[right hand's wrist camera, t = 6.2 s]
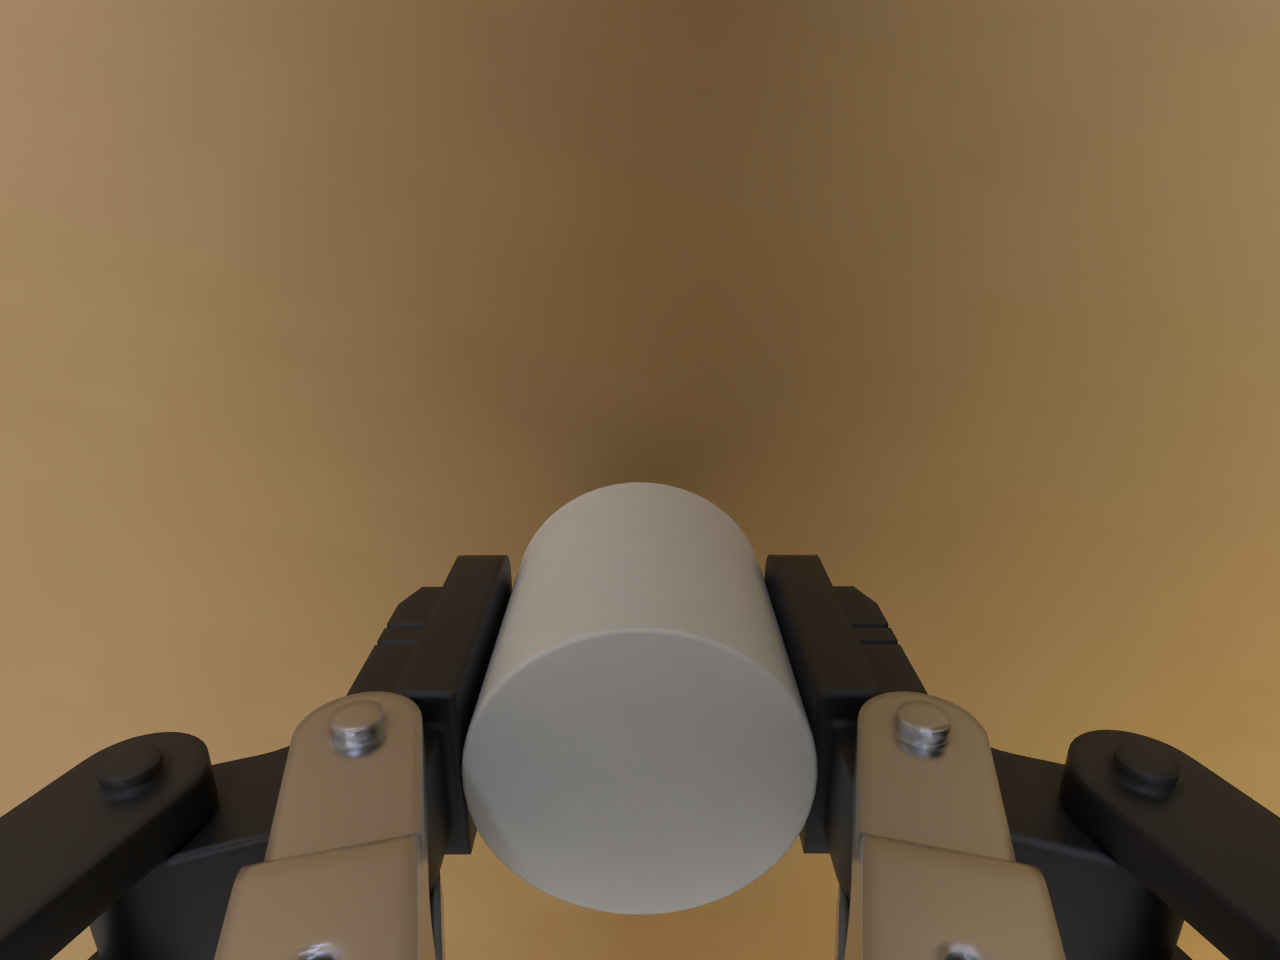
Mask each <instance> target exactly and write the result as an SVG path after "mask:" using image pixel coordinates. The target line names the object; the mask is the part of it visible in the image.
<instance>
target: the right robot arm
mask: <svg viewBox="0 0 1280 960" xmlns="http://www.w3.org/2000/svg"><path fill="white" fill-rule="evenodd" d="M765 584H766V587H767V590H768V593H769V597H770V600H771V603H772V606H773V609H774V613H775V616H776V619H777V622H778V625H779V629H780V632H781V635H782V638H783V641H784V645H785V648H786V651H787V654H788V657H789V661H790V664H791V667H792V670H793V673H794V677H795V680H796V683H797V686H798V689H799V693H800V696H801V699H802V702H803V705H804V709H805V712H806V715H807V718H808V721H809V725H810V728H811V731H812V734H813V738H814V743H815V747H816V752H817V765H818V777H817V785H816V793H815V796H814V800H813V804H812V807H811V811H810V813H809V816H808V818H807V820H806V822H805V824H804V827H803V829H802V831H801V832H800V834H799V835H800V839H801V844H802V848H803V852H804V853H830V855H831V859H832V862H833V866H834V869H835V873H836V877H837V879H838V882H839V886H838V895H837V908H836V935H835V960H1192V959H1191V958H1190V957H1189V956H1188V955H1187V954H1186V953H1184V952H1183V951H1182V950H1181V949H1180V948H1179V947H1178V946H1177V945H1176V944H1177V941H1178V938H1179V935H1180V932H1181V929H1182V926H1183V923H1184V920H1185V921H1186V922H1187V923H1189V924H1190V925H1191V926H1192V927H1193V928H1194V929H1195V930H1197V931H1198V932H1199V933H1200V934H1201V935H1202V936H1203V937H1204V938H1206V939H1207V940H1208V941H1209V942H1210V943H1211V944H1212V945H1214V946H1215V947H1216V948H1217V949H1218V950H1219V951H1220V952H1222V953H1223V954H1224V955H1225V956H1226V957H1227V958H1228V959H1229V960H1280V818H1279V817H1278V816H1277V815H1275V814H1274V813H1272V812H1271V811H1269V810H1268V809H1266V808H1265V807H1263V806H1262V805H1260V804H1259V803H1257V802H1256V801H1255V800H1253V799H1252V798H1250V797H1249V796H1247V795H1246V794H1244V793H1243V792H1241V791H1240V790H1238V789H1237V788H1235V787H1234V786H1233V785H1231V784H1230V783H1228V782H1227V781H1225V780H1224V779H1222V778H1221V777H1219V776H1218V775H1216V774H1215V773H1213V772H1212V771H1211V770H1209V769H1208V768H1206V767H1205V766H1203V765H1202V764H1200V763H1199V762H1197V761H1196V760H1194V759H1193V758H1191V757H1190V756H1188V755H1186V754H1185V753H1183V752H1182V751H1180V750H1178V749H1176V748H1174V747H1172V746H1170V745H1168V744H1165V743H1163V742H1160V741H1158V740H1155V739H1152V738H1149V737H1146V736H1143V735H1139V734H1135V733H1131V732H1125V731H1117V730H1097V731H1091V732H1087V733H1084V734H1082V735H1080V736H1078V737H1077V738H1075V739H1074V740H1073V742H1072V743H1071V744H1070V747H1069V750H1068V755H1067V759H1066V763H1065V765H1063V764H1058V763H1054V762H1049V761H1044V760H1040V759H1035V758H1030V757H1025V756H1021V755H1016V754H1012V753H1008V752H1004V751H1000V750H997V749H994V748H991V747H990V743H989V739H988V736H987V733H986V731H985V730H984V728H983V727H982V725H981V724H980V723H979V722H978V721H977V719H976V718H974V717H973V716H972V715H971V714H970V713H968V712H967V711H965V710H964V709H962V708H961V707H959V706H957V705H955V704H953V703H951V702H949V701H947V700H944V699H942V698H939V697H935V696H932V695H928V694H927V692H926V690H925V688H924V687H923V685H922V683H921V681H920V680H919V678H918V676H917V674H916V672H915V671H914V669H913V667H912V665H911V664H910V662H909V660H908V658H907V656H906V655H905V653H904V651H903V649H902V647H901V646H900V645H898V640H897V639H896V637H895V635H894V633H893V631H892V630H891V628H888V623H887V621H886V619H885V617H884V615H883V614H882V612H881V610H880V608H879V607H878V605H877V603H875V602H874V601H872V600H871V599H870V598H868V597H867V596H866V595H864V594H863V593H862V592H860V591H859V590H857V589H856V588H855V587H853V586H832V584H831V582H830V580H829V577H828V575H827V573H826V571H825V569H824V567H823V565H822V563H821V561H820V559H819V557H818V556H817V555H769V556H768V557H767V561H766V567H765ZM511 592H512V581H511V568H510V561H509V558H508V556H507V555H459V556H458V557H457V559H456V561H455V563H454V565H453V567H452V569H451V571H450V573H449V575H448V577H447V579H446V581H445V583H444V585H443V587H422V588H420V589H419V590H418V591H416V592H415V593H413V594H412V595H411V596H409V597H408V598H407V599H405V600H404V601H402V602H401V603H400V604H398V606H397V608H396V610H395V611H394V613H393V615H392V617H391V618H390V620H389V622H388V624H387V628H385V629H384V631H383V632H382V634H381V636H380V638H379V639H378V644H377V645H375V646H374V648H373V650H372V652H371V653H370V655H369V657H368V659H367V660H366V662H365V664H364V666H363V667H362V669H361V671H360V673H359V674H358V676H357V678H356V680H355V681H354V683H353V685H352V687H351V688H350V690H349V692H348V694H347V695H346V696H344V697H341V698H338V699H336V700H333V701H331V702H329V703H327V704H325V705H323V706H321V707H319V708H318V709H316V710H315V711H313V712H312V713H310V714H309V715H308V716H307V717H306V718H304V719H303V721H302V722H301V723H300V724H299V725H298V727H297V728H296V730H295V731H294V733H293V736H292V739H291V743H290V746H288V747H285V748H283V749H280V750H277V751H274V752H270V753H266V754H262V755H258V756H253V757H248V758H243V759H239V760H234V761H229V762H225V763H220V764H215V765H211V761H210V757H209V752H208V749H207V746H206V745H205V744H204V742H203V741H202V740H200V739H199V738H197V737H195V736H192V735H190V734H185V733H180V732H162V733H153V734H147V735H142V736H138V737H134V738H131V739H128V740H125V741H122V742H119V743H117V744H114V745H112V746H110V747H107V748H105V749H103V750H101V751H99V752H97V753H96V754H94V755H92V756H91V757H89V758H87V759H86V760H84V761H83V762H81V763H80V764H78V765H77V766H75V767H74V768H72V769H71V770H69V771H68V772H67V773H65V774H64V775H62V776H61V777H59V778H58V779H56V780H55V781H53V782H52V783H50V784H49V785H47V786H46V787H45V788H43V789H42V790H40V791H39V792H37V793H36V794H34V795H33V796H31V797H30V798H28V799H27V800H25V801H24V802H22V803H21V804H20V805H18V806H17V807H15V808H14V809H12V810H11V811H9V812H8V813H6V814H5V815H3V816H2V817H0V960H51V959H52V958H53V957H54V956H55V955H56V954H57V953H58V952H60V951H61V950H62V949H63V948H64V947H65V946H66V945H68V944H69V943H70V942H71V941H72V940H73V939H74V938H75V937H77V936H78V935H79V934H80V933H81V932H82V931H83V930H85V929H86V928H87V927H88V926H90V929H91V932H92V935H93V938H94V941H95V944H96V947H97V950H98V951H97V952H96V953H94V954H93V955H92V956H91V957H90V958H89V959H88V960H445V935H444V908H443V895H442V886H441V877H440V868H441V864H442V861H443V858H444V854H471V852H472V848H473V844H474V840H475V836H476V832H477V828H476V826H475V824H474V821H473V819H472V817H471V814H470V812H469V810H468V806H467V802H466V798H465V794H464V790H463V782H462V770H461V769H462V756H463V748H464V744H465V740H466V736H467V732H468V729H469V726H470V723H471V719H472V716H473V713H474V710H475V707H476V704H477V700H478V697H479V694H480V691H481V688H482V685H483V681H484V678H485V675H486V672H487V669H488V665H489V662H490V659H491V656H492V653H493V650H494V646H495V643H496V640H497V637H498V634H499V630H500V627H501V624H502V621H503V618H504V615H505V611H506V608H507V605H508V602H509V599H510V595H511Z"/></svg>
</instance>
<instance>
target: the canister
mask: <svg viewBox="0 0 1280 960" xmlns="http://www.w3.org/2000/svg"><path fill="white" fill-rule="evenodd" d="M461 770H462V782H463V790H464V794H465V798H466V802H467V806H468V810H469V812H470V814H471V817H472V819H473V821H474V824H475V826H476V828H477V830H478V831H479V833H480V834H481V836H482V838H483V839H484V841H485V843H486V844H487V845H488V846H489V848H490V849H491V850H492V851H493V853H494V854H495V855H496V856H497V857H498V858H499V859H500V860H501V861H502V862H503V863H504V864H505V865H506V866H507V867H508V868H509V869H510V870H511V871H512V872H514V873H515V874H516V875H518V876H519V877H521V878H522V879H523V880H525V881H526V882H527V883H529V884H531V885H532V886H534V887H536V888H538V889H539V890H541V891H543V892H545V893H547V894H549V895H551V896H553V897H556V898H558V899H560V900H563V901H565V902H568V903H571V904H574V905H577V906H581V907H584V908H588V909H593V910H598V911H602V912H609V913H618V914H630V915H650V914H662V913H671V912H677V911H682V910H687V909H692V908H695V907H699V906H702V905H705V904H709V903H712V902H714V901H717V900H719V899H722V898H724V897H726V896H729V895H731V894H733V893H735V892H736V891H738V890H740V889H742V888H744V887H746V886H747V885H749V884H750V883H752V882H753V881H755V880H756V879H758V878H759V877H760V876H762V875H763V874H765V873H766V872H767V871H768V870H769V869H770V868H771V867H772V866H774V865H775V864H776V863H777V862H778V861H779V860H780V859H781V858H782V857H783V855H784V854H785V853H786V852H787V851H788V850H789V848H790V847H791V846H792V845H793V843H794V842H795V840H796V838H797V837H798V835H799V834H800V832H801V831H802V829H803V827H804V824H805V822H806V820H807V818H808V816H809V813H810V811H811V807H812V804H813V800H814V796H815V793H816V785H817V777H818V765H817V752H816V747H815V743H814V738H813V734H812V731H811V728H810V725H809V721H808V718H807V715H806V712H805V709H804V705H803V702H802V699H801V696H800V693H799V689H798V686H797V683H796V680H795V677H794V673H793V670H792V667H791V664H790V661H789V657H788V654H787V651H786V648H785V645H784V641H783V638H782V635H781V632H780V629H779V625H778V622H777V619H776V616H775V613H774V609H773V606H772V603H771V600H770V597H769V593H768V590H767V587H766V584H765V581H764V577H763V574H762V571H761V568H760V565H759V562H758V559H757V557H756V554H755V551H754V549H753V547H752V545H751V544H750V542H749V540H748V538H747V537H746V535H745V534H744V533H743V531H742V530H741V529H740V527H739V526H738V525H737V524H736V523H735V522H734V521H733V520H732V519H731V518H730V517H729V516H728V515H727V514H726V513H725V512H724V511H722V510H721V509H720V508H718V507H717V506H716V505H714V504H713V503H711V502H710V501H708V500H706V499H704V498H702V497H701V496H699V495H696V494H694V493H691V492H689V491H687V490H684V489H681V488H677V487H673V486H669V485H664V484H657V483H645V482H632V483H623V484H615V485H611V486H607V487H602V488H599V489H596V490H593V491H591V492H588V493H585V494H583V495H581V496H579V497H577V498H576V499H574V500H572V501H570V502H568V503H567V504H566V505H564V506H563V507H561V508H560V509H558V510H557V511H556V512H555V513H554V514H553V515H552V516H550V517H549V518H548V519H547V520H546V521H545V522H544V523H543V525H542V526H541V527H540V528H539V530H538V531H537V532H536V533H535V535H534V536H533V538H532V540H531V541H530V543H529V545H528V546H527V549H526V551H525V553H524V556H523V558H522V561H521V564H520V567H519V570H518V573H517V576H516V580H515V583H514V586H513V589H512V592H511V595H510V599H509V602H508V605H507V608H506V611H505V615H504V618H503V621H502V624H501V627H500V630H499V634H498V637H497V640H496V643H495V646H494V650H493V653H492V656H491V659H490V662H489V665H488V669H487V672H486V675H485V678H484V681H483V685H482V688H481V691H480V694H479V697H478V700H477V704H476V707H475V710H474V713H473V716H472V719H471V723H470V726H469V729H468V732H467V736H466V740H465V744H464V748H463V756H462V769H461Z"/></svg>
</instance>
